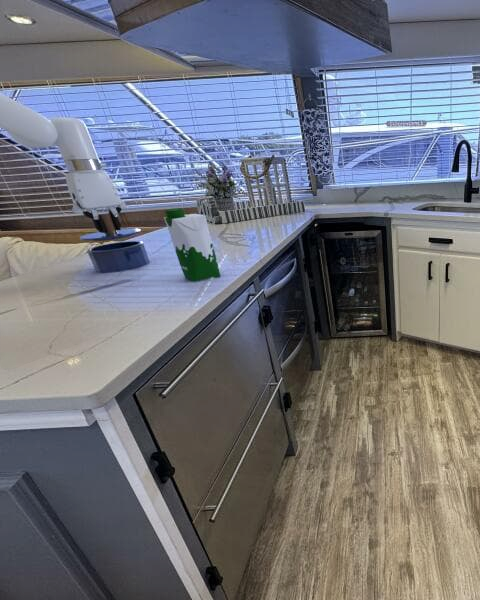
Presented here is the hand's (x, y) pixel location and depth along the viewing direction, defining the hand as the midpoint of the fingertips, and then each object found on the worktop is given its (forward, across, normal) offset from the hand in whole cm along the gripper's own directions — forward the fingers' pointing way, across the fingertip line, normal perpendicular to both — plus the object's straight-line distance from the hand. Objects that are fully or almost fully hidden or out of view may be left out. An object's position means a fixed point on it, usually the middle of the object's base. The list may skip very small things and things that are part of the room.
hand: (110, 230), depth 99 cm
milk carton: (+14, -5, +32) cm, 35 cm away
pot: (+13, 0, 0) cm, 13 cm away
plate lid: (+1, 0, 0) cm, 1 cm away
